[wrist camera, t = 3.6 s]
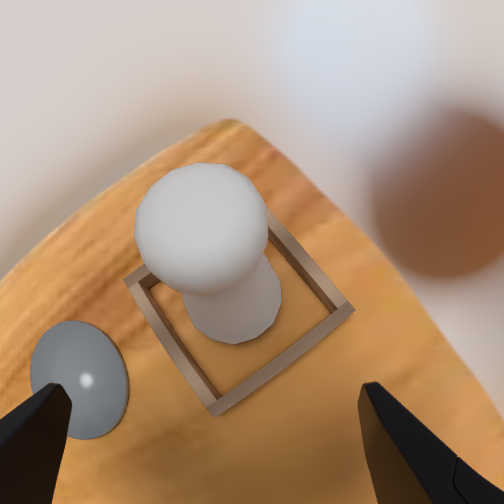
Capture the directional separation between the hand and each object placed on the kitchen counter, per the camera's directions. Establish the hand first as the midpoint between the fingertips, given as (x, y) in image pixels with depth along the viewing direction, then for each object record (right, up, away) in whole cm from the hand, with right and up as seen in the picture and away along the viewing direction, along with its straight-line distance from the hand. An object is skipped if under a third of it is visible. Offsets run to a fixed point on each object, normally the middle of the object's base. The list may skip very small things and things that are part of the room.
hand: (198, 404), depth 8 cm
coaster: (-12, -5, +12) cm, 17 cm away
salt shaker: (0, +1, +13) cm, 13 cm away
